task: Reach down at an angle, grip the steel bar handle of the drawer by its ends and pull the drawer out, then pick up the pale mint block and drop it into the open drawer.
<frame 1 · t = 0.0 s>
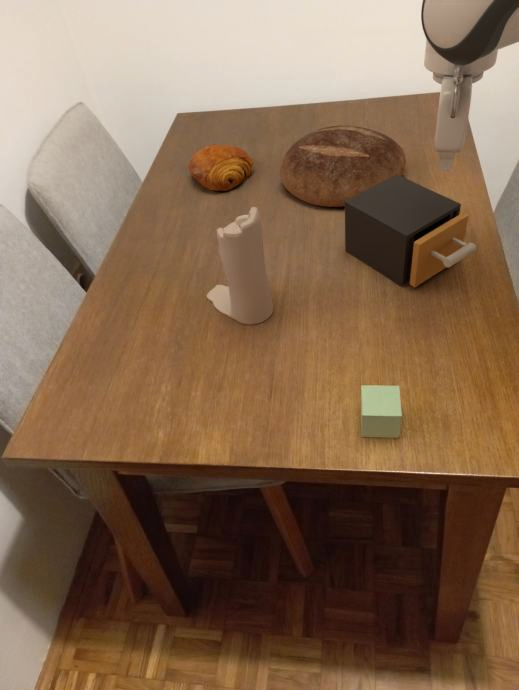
hand: (446, 151, 77), 22 cm above the table, tool pointing down, fingers open, 8 cm apart
bread: (342, 179, 118), on the table
croissant: (223, 177, 125), on the table
cabinet: (397, 253, 97), on the table
block: (379, 422, 72), on the table
candle: (238, 304, 93), on the table
drawer: (420, 240, 90), point 5 cm above the table, slide at 1.0 cm
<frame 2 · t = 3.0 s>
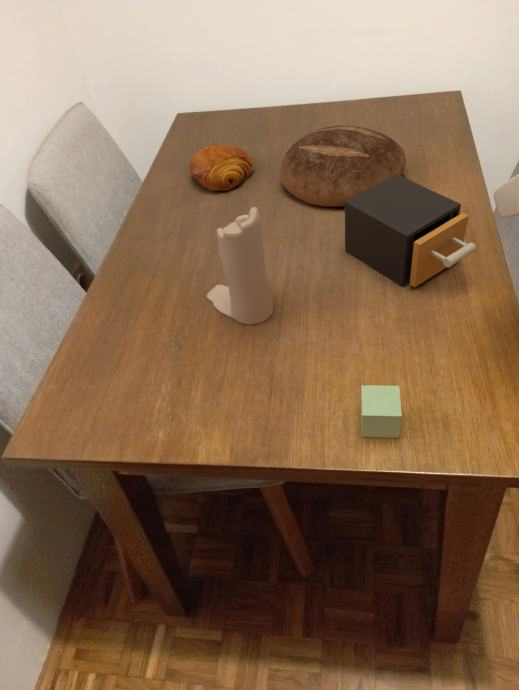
nothing on the table moved.
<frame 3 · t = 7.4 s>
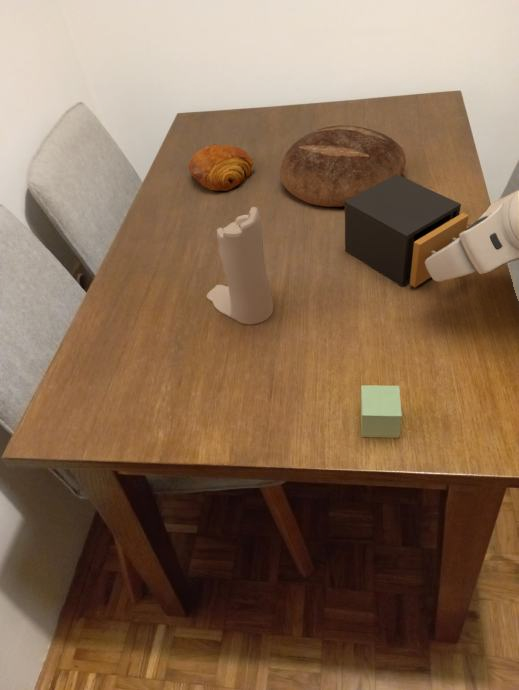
hand: (451, 252, 86), 6 cm above the table, tool tilted 45°, fingers closed on drawer, 6 cm apart
drawer: (420, 240, 90), point 5 cm above the table, slide at 1.0 cm, touching gripper
everything else where it was.
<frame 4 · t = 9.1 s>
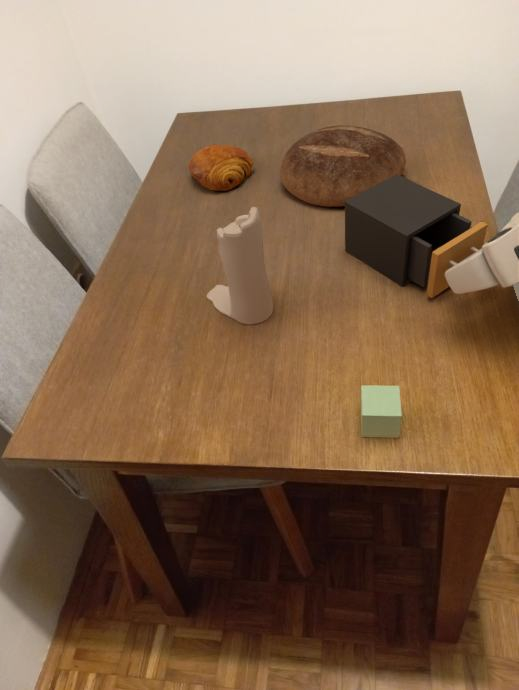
hand: (470, 263, 83), 6 cm above the table, tool tilted 45°, fingers closed on drawer, 6 cm apart
drawer: (437, 249, 88), point 5 cm above the table, slide at 4.7 cm, touching gripper
everything else where it was.
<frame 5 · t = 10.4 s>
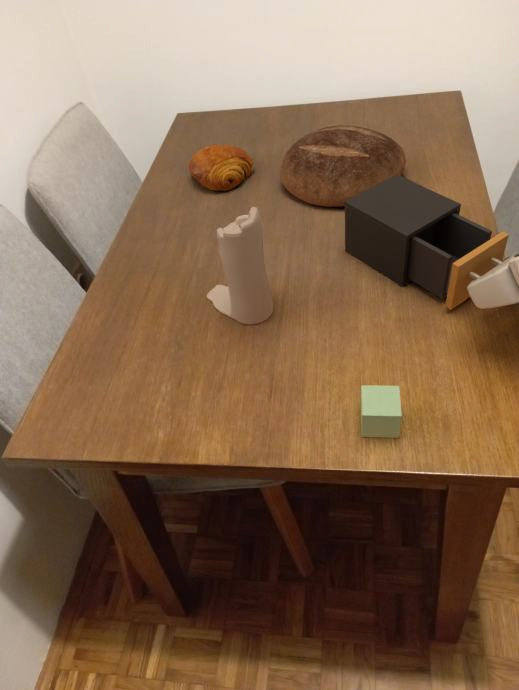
hand: (490, 274, 81), 6 cm above the table, tool tilted 45°, fingers closed on drawer, 6 cm apart
drawer: (456, 260, 86), point 5 cm above the table, slide at 8.7 cm, touching gripper
everything else where it was.
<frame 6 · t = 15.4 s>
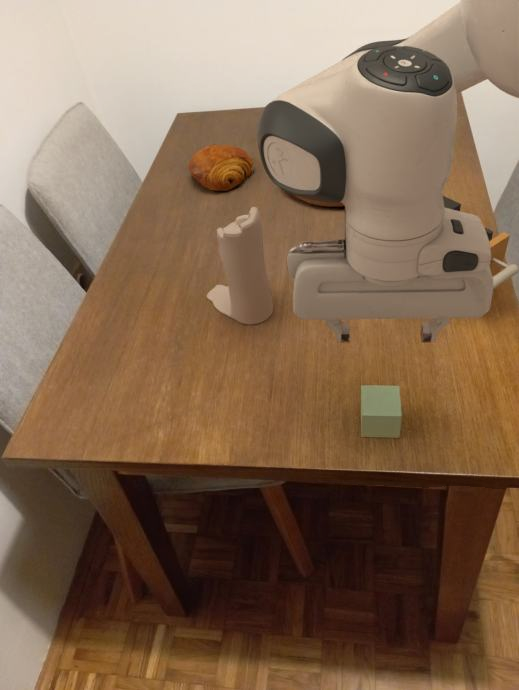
hand: (384, 339, 60), 17 cm above the table, tool pointing down, fingers open, 8 cm apart
drawer: (457, 260, 85), point 5 cm above the table, slide at 8.8 cm
everything else where it was.
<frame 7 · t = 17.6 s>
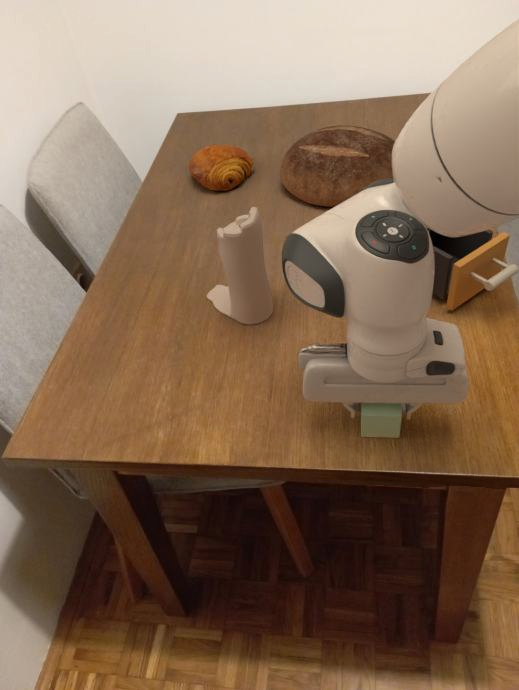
hand: (380, 414, 71), 2 cm above the table, tool pointing down, fingers closed on block, 5 cm apart
block: (379, 422, 72), on the table, touching gripper
everything else where it was.
when the fingers open (12 cm above the table, at t = 23.8 s): block drops 8 cm, resting on drawer.
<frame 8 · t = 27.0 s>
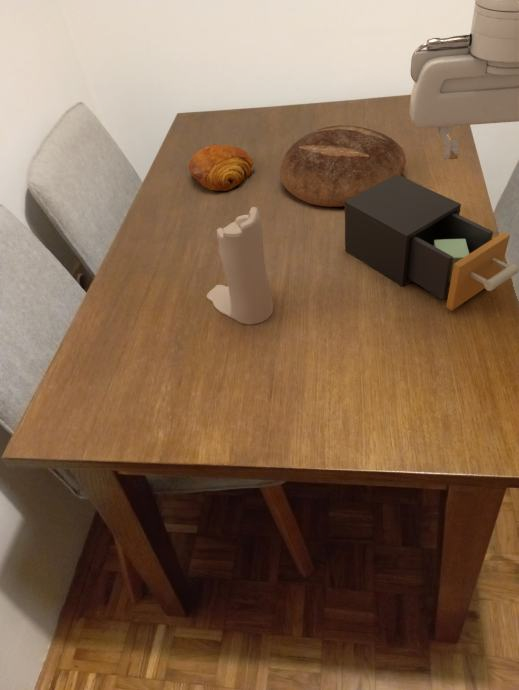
hand: (489, 154, 65), 27 cm above the table, tool pointing down, fingers open, 8 cm apart
block: (447, 272, 89), point 2 cm above the table, touching drawer
drawer: (457, 260, 85), point 5 cm above the table, slide at 8.8 cm, touching block
everything else where it was.
at the end: drawer slide at 8.8 cm; block inside the target area in the drawer (0.5 cm from its centre), point 2.0 cm above the cabinet's base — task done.
